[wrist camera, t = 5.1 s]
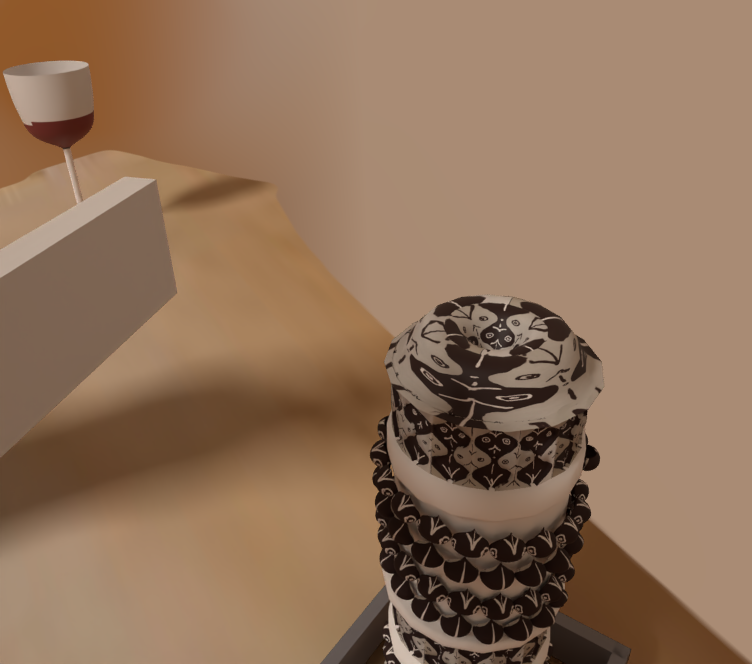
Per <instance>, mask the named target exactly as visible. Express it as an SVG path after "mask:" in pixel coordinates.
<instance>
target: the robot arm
mask: <svg viewBox="0 0 752 664" xmlns="http://www.w3.org/2000/svg"><path fill="white" fill-rule="evenodd" d="M175 294H177V288H176V283H175V278H174V272H173V267H172V262H171V256H170V251H169V246H168V240H167V235H166V230H165V224H164V219H163V214H162V208H161V203H160V198H159V192H158V187H157V182H156V179H145V178H133V177H123V178H122V179H120V180H118V181H117V182H115V183H113V184H111V185H110V186H108V187H106V188H105V189H103V190H101V191H99V192H98V193H96V194H94V195H93V196H91V197H89V198H87V199H86V200H84V201H82V202H81V203H79V204H77V205H75V206H74V207H72V208H70V209H69V210H67V211H65V212H64V213H62V214H60V215H58V216H57V217H55V218H53V219H52V220H50V221H48V222H46V223H45V224H43V225H41V226H40V227H38V228H36V229H34V230H33V231H31V232H29V233H28V234H26V235H24V236H22V237H21V238H19V239H17V240H16V241H14V242H12V243H10V244H9V245H7V246H5V247H4V248H2V249H0V458H1V457H2V456H3V455H4V454H5V453H6V452H7V451H8V450H9V449H11V448H12V447H13V446H14V445H15V444H16V443H17V442H18V441H19V440H20V439H21V438H22V437H23V436H24V435H26V434H27V433H28V432H29V431H30V430H31V429H32V428H33V427H34V426H35V425H36V424H37V423H38V422H39V421H41V420H42V419H43V418H44V417H45V416H46V415H47V414H48V413H49V412H50V411H51V410H52V409H53V408H54V407H56V406H57V405H58V404H59V403H60V402H61V401H62V400H63V399H64V398H65V397H66V396H67V395H68V394H69V393H71V392H72V391H73V390H74V389H75V388H76V387H77V386H78V385H79V384H80V383H81V382H82V381H83V380H84V379H86V378H87V377H88V376H89V375H90V374H91V373H92V372H93V371H94V370H95V369H96V368H97V367H98V366H99V365H101V364H102V363H103V362H104V361H105V360H106V359H107V358H108V357H109V356H110V355H111V354H112V353H113V352H114V351H116V350H117V349H118V348H119V347H120V346H121V345H122V344H123V343H124V342H125V341H126V340H127V339H128V338H129V337H130V336H132V335H133V334H134V333H135V332H136V331H137V330H138V329H139V328H140V327H141V326H142V325H143V324H144V323H145V322H147V321H148V320H149V319H150V318H151V317H152V316H153V315H154V314H155V313H156V312H157V311H158V310H159V309H160V308H162V307H163V306H164V305H165V304H166V303H167V302H168V301H169V300H170V299H171V298H172V297H173V296H174V295H175Z"/></svg>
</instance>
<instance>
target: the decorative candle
mask: <svg viewBox="0 0 752 664" xmlns="http://www.w3.org/2000/svg"><path fill="white" fill-rule="evenodd" d="M384 363H385V366H386V369H387V372H388V375H389V378H390V381H391V412H390V415H389V416H386V417H384V418H383V419H381V420H380V422H379V424H378V434H379V436H380V438H381V439H382V440H379V441H377V442H376V443H375V444H374V445H373V447H372V449H371V451H370V458H371V460H372V461H373V463H374V464H375V465H377V468H376V469H375V471H374V473H373V478H372V479H373V484H374V485H375V486H376V487H377V489H378V490H379V493H378V494H377V496H376V499H375V506H376V509H377V510H376V515H375V516H376V520H377V521H378V522H379V523H380V524H381V526H380V527H379V530H378V540H379V542H380V544H381V547H382V551H381V553H380V564H381V566H382V571H383V575H384V580H385V584H386V589H387V593H388V598H389V600H390V605H389V610H388V620H387V621H386V623H385V624H384V626H383V630H382V634H383V638H384V639H385V640H386V642H385V644H384V647H383V654H384V657H385V662H384V664H549V662H548V660H549V659H550V658H551V656H552V654H553V644H552V642H551V640H550V626H551V625H553V624H554V622H555V616H556V614H557V613H558V611H559V609H560V607H562V606H563V605H564V603H565V602H566V601H567V599H568V595H567V592H566V591H565V582H568V581H569V580H571V579H572V578H573V576H574V573H575V570H574V567H573V565H572V563H571V561H570V558H571V557H572V555H573V554H576V553H577V552H579V551H580V550H581V548H582V547H583V544H584V540H583V537H582V536H581V535H580V533H579V531H580V530H581V529H582V527H583V523H585V522H586V521H587V520H588V519H589V518H590V516H591V511H590V507H589V505H588V504H587V503H586V502H585V500H586V499H587V497H588V494H589V488H588V485H587V484H586V483H585V482H584V481H582V480H580V479H579V478H580V476H581V473H582V470H584V471H590V470H593V469H595V468H596V467H597V466H598V465H599V462H600V456H599V453H598V451H597V450H596V449H595V448H594V447H592V446H590V445H587V444H588V438H587V435H586V434H585V424H586V420H587V410H588V409H589V408H590V406H591V405H592V403H593V402H594V400H595V399H596V398H597V396H598V395H599V393H600V392H601V390H602V389H603V388H604V379H603V369H602V362H601V360H600V359H599V358H598V357H597V355H596V354H595V353H594V352H593V351H592V349H591V348H590V347H589V346H588V344H587V343H586V342H585V341H584V340H583V339H582V338H580V337H578V336H576V335H575V334H574V333H573V332H572V330H571V329H570V328H569V327H568V325H567V324H566V323H565V321H564V320H563V319H562V318H561V317H560V316H558V315H556V314H554V313H552V312H551V311H549V310H548V309H546V308H544V307H542V306H541V305H539V304H536V303H533V302H529V301H526V300H523V299H519V298H515V297H509V296H498V295H478V296H467V297H461V298H457V299H455V300H452V301H449V302H446V303H443V304H440V305H438V306H436V307H435V308H434V309H433V310H431V311H430V312H429V313H428V314H426V315H425V316H424V317H423V318H421V319H420V320H419V321H417V322H415V323H413V324H412V325H410V326H409V327H408V328H407V329H405V330H404V331H403V332H402V333H400V334H399V335H398V336H397V337H395V338H394V339H393V340H392V342H391V345H390V347H389V350H388V353H387V355H386V358H385V361H384ZM391 464H392V468H393V471H394V476H393V477H392V469H390V465H391ZM569 493H571V495H570V494H569Z"/></svg>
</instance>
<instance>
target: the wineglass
mask: <svg viewBox="0 0 752 664" xmlns="http://www.w3.org/2000/svg"><path fill="white" fill-rule="evenodd" d="M3 74H4V78H5V80H6V84H7V87H8V89H9V92H10V95H11V97H12V100H13V102H14V105H15V107H16V109H17V111H18V113H19V115H20V117H21V119H22V121H23V123H24V125H25V127H26V128H27V130H28V131H29V132H30V133H31V134H32V135H33V136H34V137H36V138H37V139H39V140H41V141H44V142H46V143H50V144H53V145H56V146H59V147H61V148H63V150H64V154H65V158H66V162H67V166H68V170H69V174H70V178H71V182H72V186H73V190H74V194H75V197H76V201H77V204H79V203H81V202H82V201H83V198H82V194H81V190H80V186H79V182H78V178H77V174H76V170H75V166H74V162H73V158H72V154H71V150H70V147H71V146H72V145H73V144H75V143H76V142H77V141H79V140H80V139H82V138H83V137H84V136H85V135H86V134H87V133H88V132H89V130H90V129H91V128H92V125H93V120H94V106H93V90H92V83H91V76H90V70H89V65H88V63H85V62H81V61H50V62H39V63H31V64H25V65H19V66H15V67H11V68H8V69H6V70H4V71H3Z"/></svg>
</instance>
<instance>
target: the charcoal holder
mask: <svg viewBox="0 0 752 664" xmlns="http://www.w3.org/2000/svg"><path fill="white" fill-rule="evenodd" d="M389 605H390V600H389V598H388V593H387V589H386V585H385V586H384V587H383V588H382V589H381V591H380V592H379V593H378V594H377V595H376V597H375V598H374V599H373V600H372V602H371V603H370V604H369V605H368V606H367V608H366V609H365V610H364V611H363V612H362V614H361V615H360V616H359V617H358V619H357V620H356V621H355V622H354V623H353V625H352V626H351V627H350V628H349V629H348V631H347V632H346V633H345V634H344V636H343V637H342V638H341V639H340V640H339V642H338V643H337V644H336V645H335V646H334V648H333V649H332V650H331V651H330V653H329V654H328V655H327V656H326V657H325V659H324V660H323V661H322V662H321V663H320V664H365V663H366V661H367V660H368V659H369V657H370V656H371V655H372V654H373V652H374V651H375V650H376V648H377V647H378V646H379V644H380V643H381V642H382V640H383V639H384V638H383V634H382V630H383V626H384V624H385V623H386V621H387V620H388V610H389ZM550 640H551V642H552V644H553V654H552V656H553V657H555V658H557V659H559V660H560V661H562V662H564V663H566V664H627V662H628V659H629V656H630V652H631V649H630V648H628V647H626V646H624V645H622V644H620V643H619V642H617V641H615V640H613V639H611V638H609V637H607V636H605V635H603V634H601V633H599V632H597V631H595V630H593V629H592V628H590V627H588V626H586V625H584V624H582V623H580V622H578V621H576V620H574V619H572V618H570V617H568V616H567V615H565V614H563V613H561V612H559V611H558V613H557V614H556V616H555V622H554V624H553V625H551V626H550Z"/></svg>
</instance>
